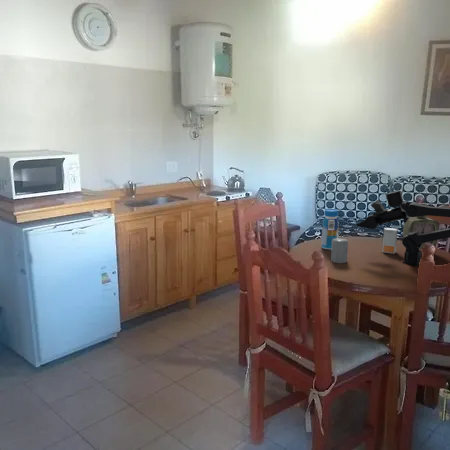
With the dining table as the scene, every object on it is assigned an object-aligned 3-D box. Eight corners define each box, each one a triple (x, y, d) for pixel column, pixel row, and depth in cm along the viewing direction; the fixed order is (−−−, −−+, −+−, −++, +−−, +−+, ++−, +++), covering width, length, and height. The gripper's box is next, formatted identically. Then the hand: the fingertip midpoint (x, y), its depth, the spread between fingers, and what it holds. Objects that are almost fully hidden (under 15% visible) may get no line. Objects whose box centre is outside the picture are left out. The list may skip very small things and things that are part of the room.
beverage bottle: (317, 247, 240) (319, 209, 236) (327, 244, 245) (329, 207, 241) (331, 250, 234) (333, 212, 230) (341, 248, 239) (343, 210, 235)
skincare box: (381, 252, 231) (383, 229, 229) (383, 250, 235) (385, 227, 233) (394, 254, 229) (396, 230, 226) (395, 252, 232) (397, 228, 230)
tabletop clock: (407, 255, 226) (411, 205, 221) (399, 250, 235) (404, 201, 230) (436, 255, 227) (441, 205, 222) (427, 250, 236) (432, 201, 231)
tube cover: (349, 261, 216) (351, 240, 214) (339, 263, 212) (341, 242, 210) (337, 257, 221) (339, 237, 219) (328, 260, 217) (329, 239, 215)
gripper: (391, 196, 222) (359, 204, 230) (382, 201, 206) (348, 210, 215) (398, 218, 222) (366, 226, 230) (389, 225, 206) (355, 233, 215)
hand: (359, 223), depth 223 cm, fingers open, 9 cm apart
